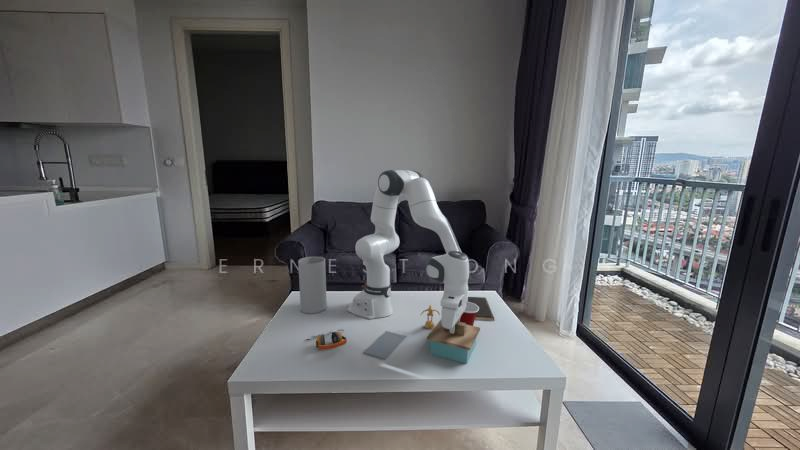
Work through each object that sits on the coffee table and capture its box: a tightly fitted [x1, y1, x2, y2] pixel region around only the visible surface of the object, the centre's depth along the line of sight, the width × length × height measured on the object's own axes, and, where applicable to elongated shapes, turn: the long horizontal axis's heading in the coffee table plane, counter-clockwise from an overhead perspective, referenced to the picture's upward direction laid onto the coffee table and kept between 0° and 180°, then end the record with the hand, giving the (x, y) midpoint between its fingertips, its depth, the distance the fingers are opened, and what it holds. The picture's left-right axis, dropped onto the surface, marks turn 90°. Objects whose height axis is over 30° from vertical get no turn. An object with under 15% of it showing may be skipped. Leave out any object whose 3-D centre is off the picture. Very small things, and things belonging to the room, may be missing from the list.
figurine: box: [420, 304, 441, 330], centre depth 139 cm, size 8×6×12 cm
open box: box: [429, 338, 477, 365], centre depth 124 cm, size 14×14×7 cm
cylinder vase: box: [297, 256, 328, 315], centre depth 158 cm, size 12×12×25 cm
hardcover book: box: [467, 296, 495, 322], centre depth 162 cm, size 16×23×2 cm
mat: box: [363, 330, 407, 361], centre depth 126 cm, size 20×18×1 cm
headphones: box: [304, 329, 348, 351], centre depth 128 cm, size 17×5×20 cm
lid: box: [426, 318, 481, 350], centre depth 123 cm, size 16×16×5 cm
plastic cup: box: [459, 302, 479, 326], centre depth 138 cm, size 11×11×12 cm
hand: (454, 329), depth 123 cm, fingers open, 4 cm apart
